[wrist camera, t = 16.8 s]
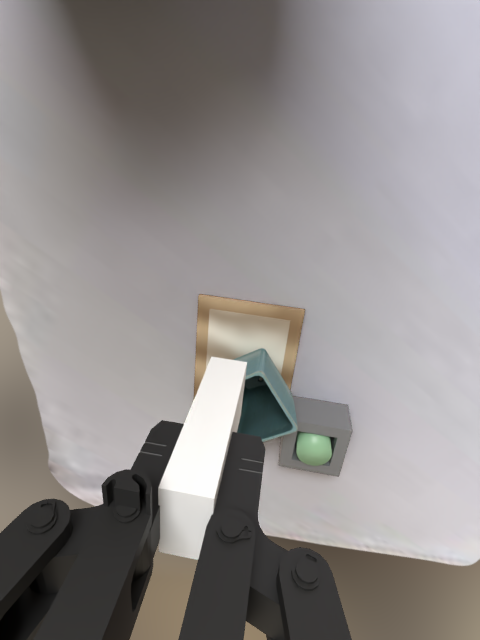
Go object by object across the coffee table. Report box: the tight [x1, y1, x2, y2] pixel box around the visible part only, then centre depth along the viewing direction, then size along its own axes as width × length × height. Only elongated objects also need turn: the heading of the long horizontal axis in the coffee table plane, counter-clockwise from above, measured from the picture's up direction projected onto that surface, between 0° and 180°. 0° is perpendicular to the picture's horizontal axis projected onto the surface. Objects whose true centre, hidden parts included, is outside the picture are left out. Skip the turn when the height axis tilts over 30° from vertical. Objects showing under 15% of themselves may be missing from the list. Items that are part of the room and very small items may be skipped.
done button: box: [296, 431, 332, 466], centre depth 50 cm, size 4×4×5 cm
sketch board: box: [194, 294, 305, 397], centre depth 50 cm, size 18×13×1 cm
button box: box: [279, 396, 352, 477], centre depth 51 cm, size 8×8×5 cm
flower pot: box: [194, 348, 298, 442], centre depth 46 cm, size 9×9×9 cm
